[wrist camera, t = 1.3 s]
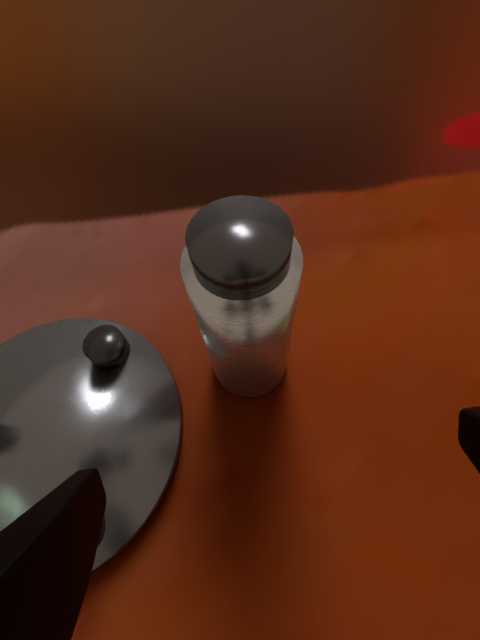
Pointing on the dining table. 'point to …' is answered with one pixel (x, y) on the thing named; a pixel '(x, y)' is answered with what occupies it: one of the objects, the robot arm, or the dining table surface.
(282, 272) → the capped frosted bottle
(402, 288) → the dining table surface
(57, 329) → the plate
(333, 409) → the dining table surface
